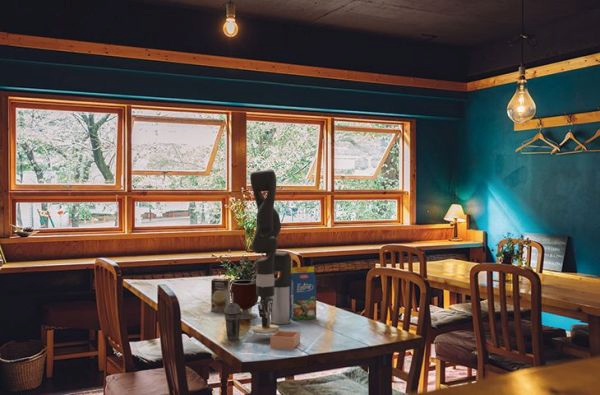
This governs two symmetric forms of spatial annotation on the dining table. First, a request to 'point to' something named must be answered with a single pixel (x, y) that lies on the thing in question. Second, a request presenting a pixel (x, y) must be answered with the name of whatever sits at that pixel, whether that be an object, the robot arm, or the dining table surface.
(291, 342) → the open wooden box
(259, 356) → the dining table surface
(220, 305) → the coffee box
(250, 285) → the mate gourd
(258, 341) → the mat
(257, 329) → the lid
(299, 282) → the blue food package
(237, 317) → the beverage cup
